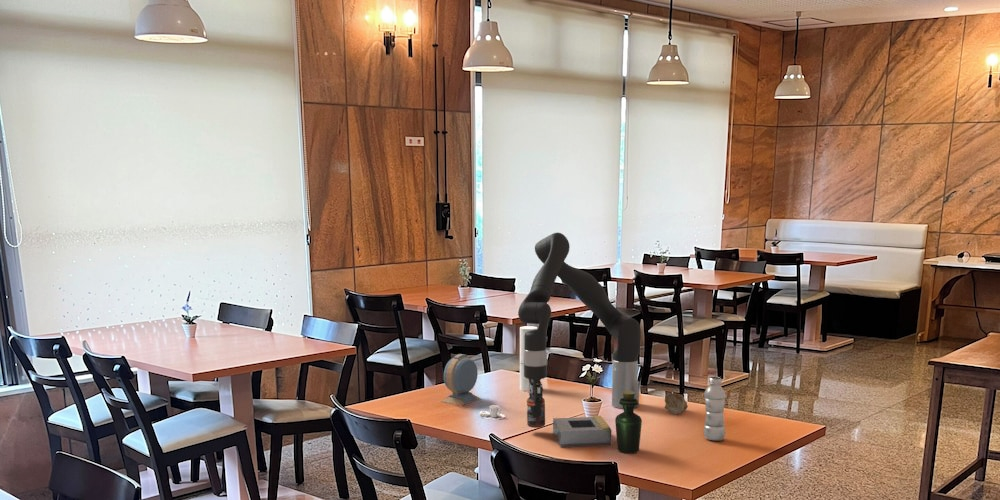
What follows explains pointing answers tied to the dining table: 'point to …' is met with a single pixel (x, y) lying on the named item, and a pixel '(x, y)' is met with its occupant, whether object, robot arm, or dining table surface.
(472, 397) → the alarm clock
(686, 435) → the dining table surface
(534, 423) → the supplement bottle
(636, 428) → the potion bottle
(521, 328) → the cylindrical container
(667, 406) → the grey brown rock
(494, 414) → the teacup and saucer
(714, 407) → the plastic bottle
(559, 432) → the jig
